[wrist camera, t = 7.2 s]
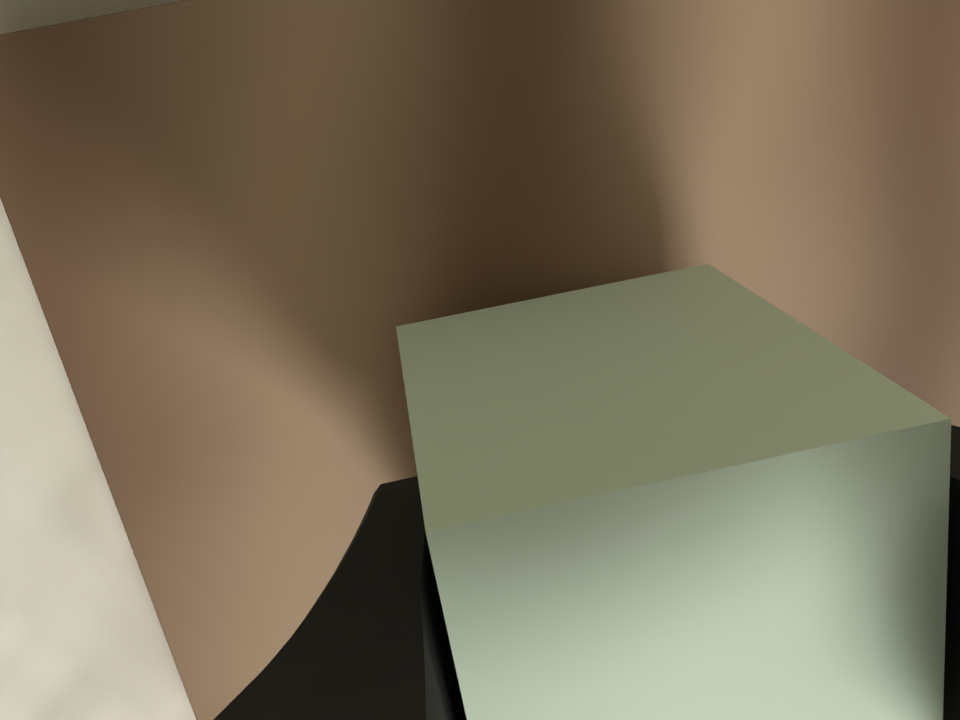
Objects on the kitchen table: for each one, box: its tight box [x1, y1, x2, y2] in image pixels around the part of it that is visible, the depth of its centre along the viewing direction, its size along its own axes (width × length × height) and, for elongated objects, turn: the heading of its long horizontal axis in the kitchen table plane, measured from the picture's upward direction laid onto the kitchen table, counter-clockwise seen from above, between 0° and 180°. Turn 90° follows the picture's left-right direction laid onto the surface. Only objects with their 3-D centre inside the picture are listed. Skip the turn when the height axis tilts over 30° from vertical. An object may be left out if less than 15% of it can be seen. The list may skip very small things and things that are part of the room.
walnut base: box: [0, 0, 960, 720], centre depth 15 cm, size 14×14×2 cm
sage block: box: [396, 264, 951, 720], centre depth 11 cm, size 4×4×6 cm
